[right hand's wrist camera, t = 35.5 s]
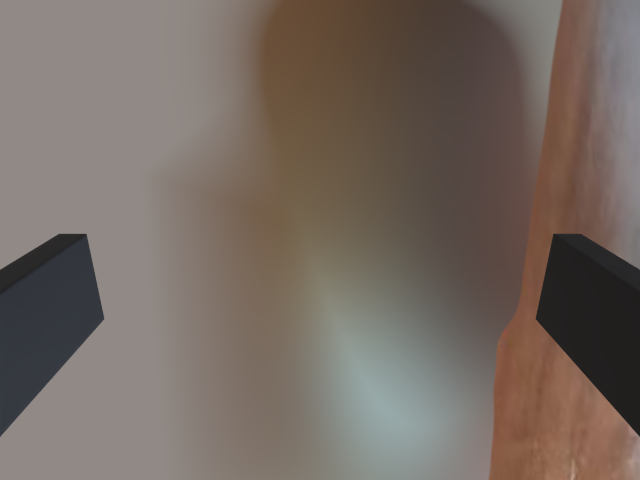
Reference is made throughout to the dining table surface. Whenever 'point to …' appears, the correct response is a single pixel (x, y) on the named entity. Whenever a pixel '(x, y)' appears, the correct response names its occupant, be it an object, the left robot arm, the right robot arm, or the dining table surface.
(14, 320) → the right robot arm
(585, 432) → the dining table surface
